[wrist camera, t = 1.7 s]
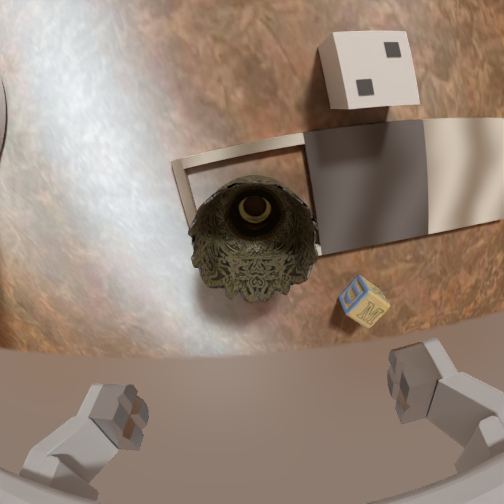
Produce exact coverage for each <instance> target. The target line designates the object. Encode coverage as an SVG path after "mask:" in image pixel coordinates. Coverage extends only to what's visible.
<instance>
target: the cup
mask: <svg viewBox="0 0 504 504" xmlns="http://www.w3.org/2000/svg"><path fill="white" fill-rule="evenodd" d="M252 196H258V197H260V198H262V199H263V200H264V202H265V210H264V212H263V213H262V214H260V215H258V216H252V215H249V214H248V213H247V212H246V210H245V207H244V205H245V202H246V200H247V199H248V198H249V197H252ZM316 230H318V226H317V224H316V222H315V220H314V218H313V213H312V212H311V210H310V209H309V207H308V206H307V205H306V204H305V203H304V202H303V201H301V200H300V199H299V197H298V196H297V195H296V194H294V193H293V192H292V191H291V190H290V189H289V188H288V187H286V186H285V185H284V184H282V183H280V182H279V181H277V180H274V179H272V178H269V177H265V176H257V175H252V176H244V177H240V178H237V179H235V180H232V181H230V182H229V183H227V184H225V185H224V186H222V187H221V188H220V189H219V190H217V191H216V192H215V193H214V194H213V195H212V196H211V197H209V198H208V199H207V200H206V201H205V202H204V203H203V204H202V205H201V206H200V207H199V209H198V210H197V212H196V215H195V218H194V220H193V222H192V224H191V226H190V228H189V231H188V235H190V236H191V237H192V245H193V249H194V252H193V255H192V257H191V260H192V264H193V266H194V267H195V268H199V270H200V275H201V277H202V279H203V281H204V282H205V284H206V285H207V286H208V287H210V288H222V289H224V290H225V294H226V296H227V297H228V298H229V299H232V298H233V297H235V296H236V294H237V293H238V292H240V294H241V296H242V298H243V299H244V300H245V301H247V302H254V301H257V299H258V298H259V300H260V299H261V300H262V301H263V302H266V301H267V300H268V299H269V298H270V297H271V296H272V295H274V294H275V292H276V290H278V291H279V292H280V293H282V294H284V295H287V294H288V292H289V290H290V286H291V285H293V284H297V285H298V284H300V283H302V282H305V281H306V280H307V279H308V277H309V275H310V272H311V269H312V266H313V263H316V262H317V260H318V251H317V249H316V246H315V243H316V239H317V236H316Z"/></svg>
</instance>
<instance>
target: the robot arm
mask: <svg viewBox="0 0 504 504" xmlns="http://www.w3.org/2000/svg"><path fill="white" fill-rule="evenodd" d="M5 121H6V104H5V94H4V88H3V84H2V81H1V78H0V151H1V147H2V143H3V138H4V131H5ZM389 361H390V364H391V366H390V367H389V368H388V372H387V380H388V387H389V391H390V394H391V397H392V398H394V399H395V400H397V402H396V411H397V414H398V417H399V419H400V422H401V424H405V423H408V422H412V421H416V420H419V419H422V418H426V417H427V419H428V420H429V421H430V422H432V423H433V424H434V425H435V426H437V427H438V428H439V429H441V430H442V431H443V432H444V433H446V434H447V435H448V436H450V437H451V438H452V439H454V440H455V441H456V442H458V443H459V444H460V445H461V446H463V447H464V448H465V449H464V450H463V452H462V453H461V455H460V457H459V458H458V460H457V461H456V463H455V467H456V470H457V474H455V475H453V476H450V477H448V478H445V479H443V480H440V481H437V482H435V483H432V484H429V485H426V486H423V487H421V488H417V489H415V490H411V491H408V492H405V493H402V494H398V495H395V496H392V497H388V498H384V499H380V500H376V501H372V502H368V503H364V504H504V393H503V392H502V391H500V390H497V389H495V388H493V387H492V386H489V385H488V384H486V383H484V382H482V381H480V380H478V379H476V378H474V377H472V376H470V375H468V374H466V373H464V372H460V373H458V372H457V370H456V368H455V366H454V365H453V363H452V362H451V360H450V358H449V356H448V355H447V353H446V351H445V350H444V348H443V347H442V345H441V344H440V342H439V340H438V339H437V338H432V339H429V340H425V341H422V342H418V343H415V344H411V345H408V346H404V347H400V348H397V349H393V350H391V351H390V353H389ZM137 392H138V391H137V390H136V388H135V387H134V385H131V384H101V383H95V384H93V385H92V386H91V388H90V390H89V392H88V394H87V396H86V398H85V400H84V402H83V404H82V406H81V408H80V410H79V412H78V414H77V416H76V417H72V418H71V419H69V420H68V421H67V422H66V423H64V424H63V425H62V426H60V427H59V428H58V429H57V430H55V431H54V432H53V433H52V434H50V435H49V436H47V437H46V438H45V439H44V440H42V441H41V442H40V443H38V444H37V445H36V446H34V447H33V448H32V449H31V450H30V452H29V454H28V457H27V459H26V461H25V463H24V465H23V467H22V469H21V472H20V474H19V475H17V474H15V473H13V472H10V471H8V470H6V469H3V468H1V467H0V504H107V503H103V502H99V501H97V498H98V494H99V493H98V491H97V490H96V489H95V488H93V487H92V486H91V485H90V484H88V483H89V482H90V481H91V480H92V479H93V478H94V477H95V476H96V475H97V474H98V473H99V472H100V470H101V469H102V468H103V467H104V466H105V465H106V464H107V463H108V462H109V461H110V459H111V458H112V457H113V456H114V455H115V454H116V453H117V452H118V451H119V450H118V449H125V450H139V449H140V446H141V443H142V439H143V436H144V435H143V433H142V429H143V428H144V427H145V426H146V425H147V422H148V419H149V416H148V408H147V405H146V403H145V402H144V400H143V399H141V398H140V397H138V396H137Z"/></svg>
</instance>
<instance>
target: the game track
mask: <svg viewBox="0 0 504 504" xmlns="http://www.w3.org/2000/svg"><path fill="white" fill-rule="evenodd" d="M301 144H304V147H305V153H306V158H307V164H308V170H309V176H310V182H311V188H312V195H313V201H314V208H315V215H316V222H317V226H318V236H319V244H315V246H316V249H317V251H318V256H319V255H325V254H330V253H335V252H341V251H346V250H351V249H356V248H362V247H367V246H372V245H377V244H382V243H387V242H392V241H398V240H403V239H408V238H413V237H418V236H423V235H428V234H433V233H438V232H442V231H447V230H452V229H457V228H462V227H467V226H472V225H476V224H481V223H486V222H491V221H495V220H500V219H504V118H440V119H420V120H405V121H392V122H381V123H371V124H362V125H353V126H345V127H337V128H330V129H323V130H316V131H309V132H303V133H297V134H291V135H285V136H280V137H274V138H269V139H264V140H258V141H253V142H248V143H244V144H239V145H234V146H230V147H225V148H221V149H216V150H212V151H208V152H204V153H200V154H196V155H192V156H188V157H184V158H180V159H176V160H173V161H171V163H172V167H173V171H174V175H175V178H176V182H177V185H178V189H179V193H180V196H181V200H182V203H183V207H184V210H185V213H186V217H187V220H188V224H189V227H190V226H191V224H192V222H193V220H194V218H195V215H196V212H197V209H196V206H195V202H194V198H193V195H192V191H191V187H190V184H189V180H188V176H187V172H186V168H190V167H194V166H198V165H202V164H206V163H210V162H215V161H219V160H224V159H228V158H233V157H237V156H242V155H247V154H252V153H257V152H262V151H267V150H272V149H278V148H283V147H289V146H295V145H301Z"/></svg>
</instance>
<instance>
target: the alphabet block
mask: <svg viewBox="0 0 504 504" xmlns="http://www.w3.org/2000/svg"><path fill="white" fill-rule="evenodd" d="M339 301H340V303H341V305H342V308H343V310H344V312H345V315H346V316H348V317H350V318H351V319H353V320H354V321H356V322H358V323H359V324H361V325H362V326H364V327H365V328H367V329H369V328H370V327H372V325H373V324H374V323H376V321H377V320H378V319H379V318H380V317H381V316H382V315H383V314H384V313H385V312H386V311H387V310H388V309H389V308H390V304H389V303H388V301H387V300H386V298H385V297H384V295H383V293H382V292H381V290H380V289H378V288H377V287H376V286H374V285H373V284H372V283H370V282H369V281H368V280H366V279H365V278H364V277H362V276H361V275H358V276H357V277H356V278H355V279H354V280H353V281H352V282H351V284H350V285H349V286H348V287H347V288H346V289H345V290H344V291H343V292H342V293H341V295H340V296H339Z"/></svg>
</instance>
